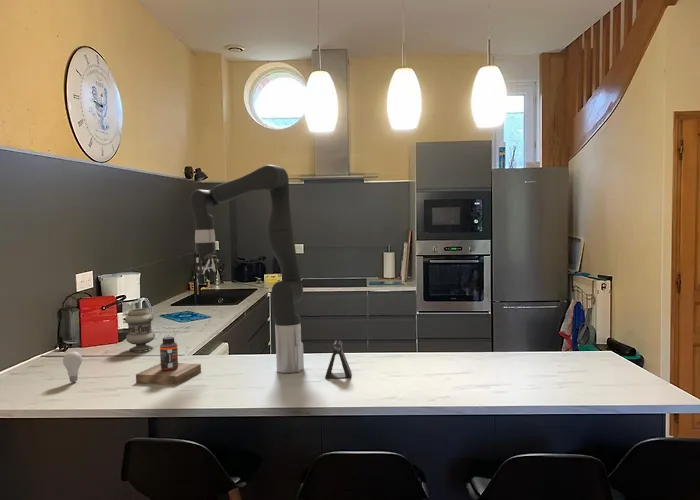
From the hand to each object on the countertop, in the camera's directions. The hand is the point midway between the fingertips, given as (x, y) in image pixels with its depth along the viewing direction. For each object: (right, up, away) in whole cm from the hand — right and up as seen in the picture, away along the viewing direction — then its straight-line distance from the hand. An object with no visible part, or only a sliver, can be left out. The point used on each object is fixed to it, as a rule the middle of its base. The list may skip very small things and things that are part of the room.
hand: (207, 283), depth 212 cm
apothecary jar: (-37, -31, +29) cm, 56 cm away
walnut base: (-9, -33, -17) cm, 38 cm away
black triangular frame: (+52, -31, -22) cm, 64 cm away
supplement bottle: (-9, -30, -17) cm, 36 cm away
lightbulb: (-42, -34, -20) cm, 57 cm away
